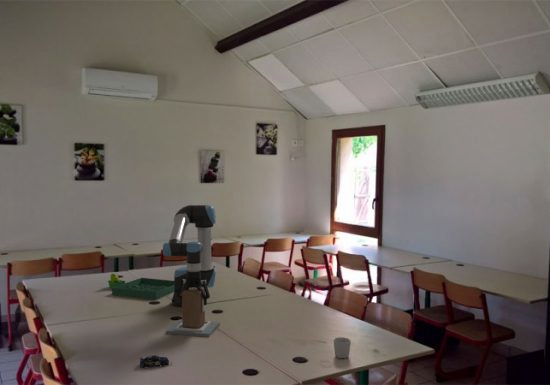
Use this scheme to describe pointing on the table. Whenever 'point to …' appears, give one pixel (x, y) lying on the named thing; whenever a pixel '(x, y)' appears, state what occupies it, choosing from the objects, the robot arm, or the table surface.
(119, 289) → the maze
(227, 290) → the table surface
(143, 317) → the table surface
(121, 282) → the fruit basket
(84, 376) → the table surface
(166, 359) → the race car
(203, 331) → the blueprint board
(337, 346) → the cup
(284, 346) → the table surface
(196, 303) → the wooden block
